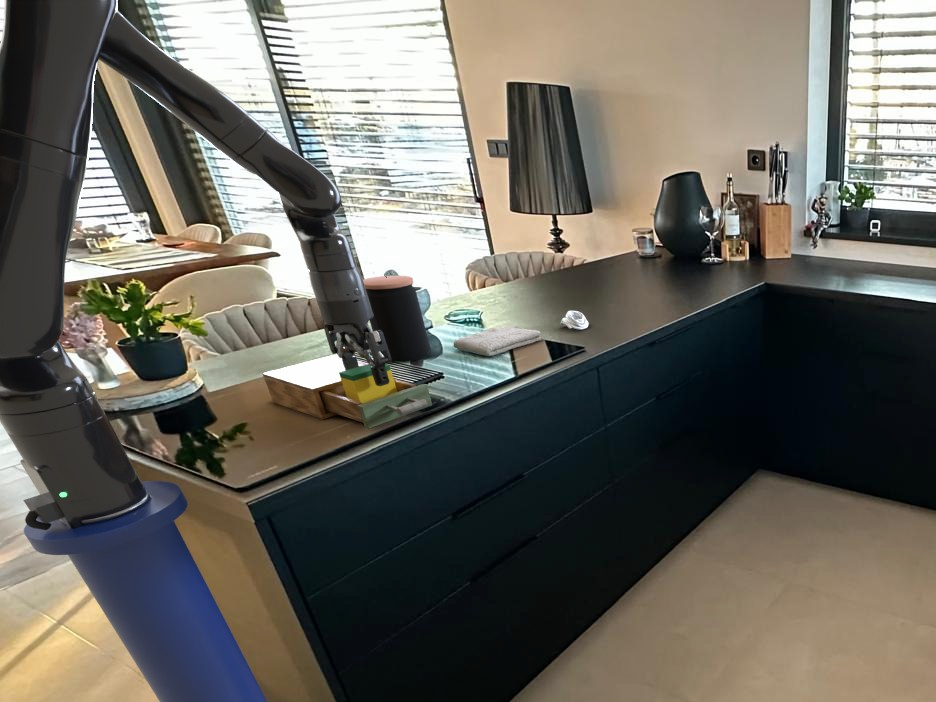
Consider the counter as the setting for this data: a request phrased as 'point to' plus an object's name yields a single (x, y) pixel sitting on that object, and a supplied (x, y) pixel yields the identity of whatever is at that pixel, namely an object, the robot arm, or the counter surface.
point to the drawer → (377, 403)
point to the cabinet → (306, 384)
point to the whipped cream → (574, 320)
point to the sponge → (365, 384)
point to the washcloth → (497, 340)
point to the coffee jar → (398, 317)
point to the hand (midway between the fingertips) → (368, 380)
